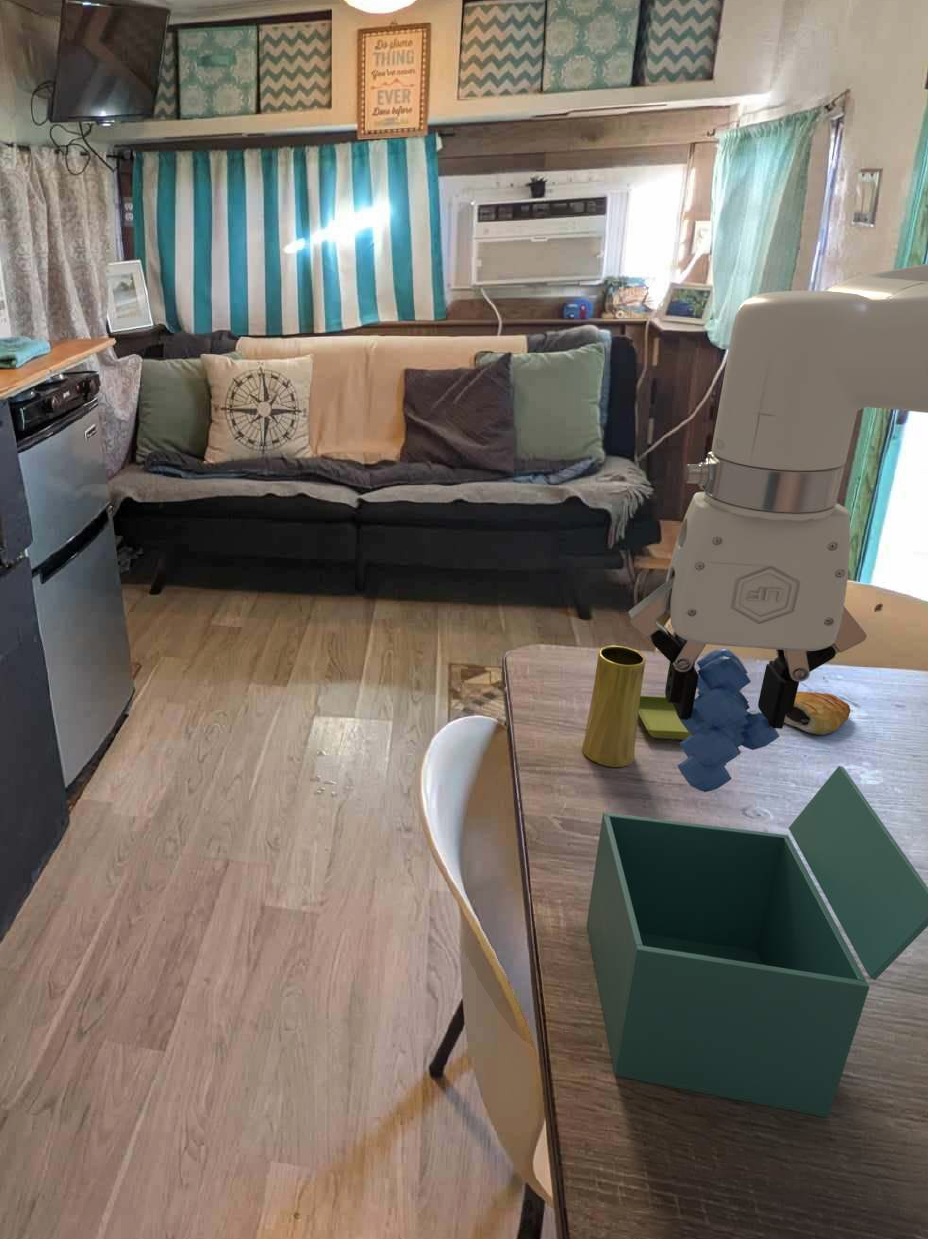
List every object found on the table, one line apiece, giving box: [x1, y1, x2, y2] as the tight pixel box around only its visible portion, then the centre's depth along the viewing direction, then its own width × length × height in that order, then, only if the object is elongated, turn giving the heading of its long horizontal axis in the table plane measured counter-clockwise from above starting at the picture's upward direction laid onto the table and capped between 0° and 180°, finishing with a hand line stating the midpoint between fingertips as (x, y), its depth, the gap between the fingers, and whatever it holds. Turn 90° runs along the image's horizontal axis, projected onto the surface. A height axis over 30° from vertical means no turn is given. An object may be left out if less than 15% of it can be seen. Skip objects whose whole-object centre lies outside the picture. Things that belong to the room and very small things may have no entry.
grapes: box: [676, 648, 781, 793], centre depth 63 cm, size 12×7×12 cm, turn 150°
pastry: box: [784, 691, 851, 736], centre depth 111 cm, size 9×7×4 cm
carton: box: [586, 812, 870, 1119], centre depth 70 cm, size 15×16×14 cm
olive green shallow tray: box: [638, 694, 696, 741], centre depth 112 cm, size 9×9×2 cm
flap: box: [788, 765, 928, 981], centre depth 64 cm, size 7×16×1 cm
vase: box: [581, 645, 647, 768], centre depth 105 cm, size 6×6×14 cm
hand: (724, 712), depth 63 cm, fingers closed on grapes, 5 cm apart
